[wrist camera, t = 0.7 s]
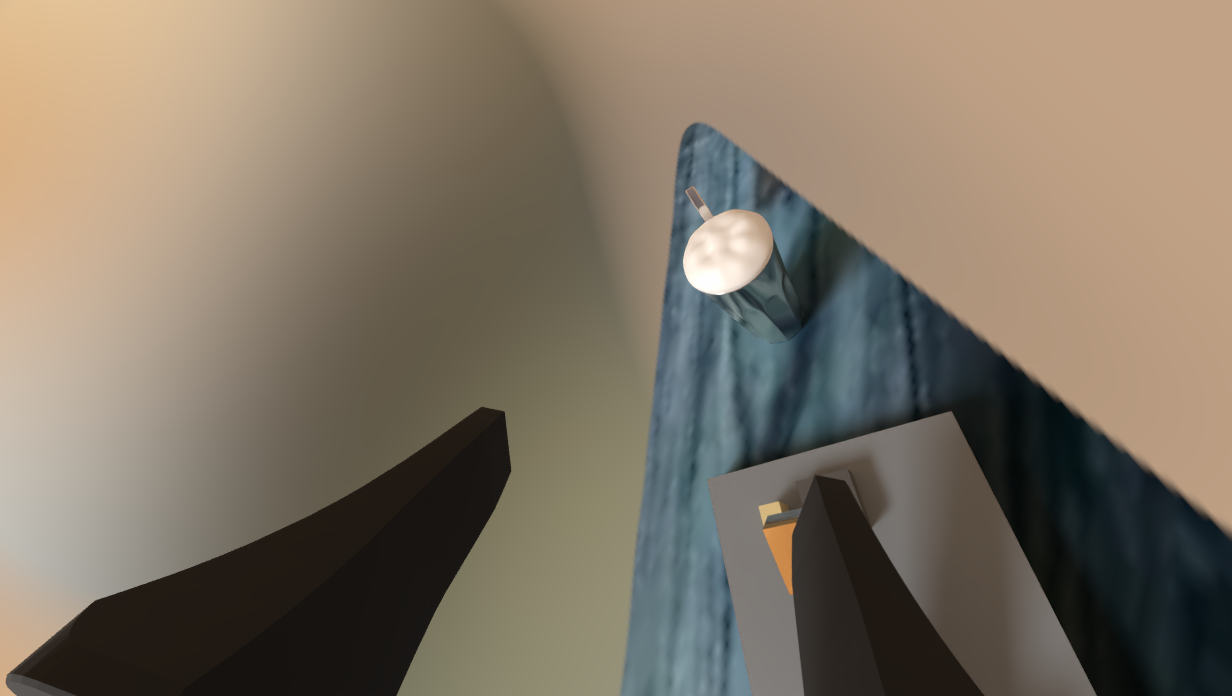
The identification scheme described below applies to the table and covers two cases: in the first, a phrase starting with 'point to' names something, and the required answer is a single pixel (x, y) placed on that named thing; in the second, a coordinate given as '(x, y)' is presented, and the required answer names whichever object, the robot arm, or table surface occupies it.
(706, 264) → the milkshake
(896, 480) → the base board
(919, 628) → the robot arm
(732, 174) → the table surface
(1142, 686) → the table surface
